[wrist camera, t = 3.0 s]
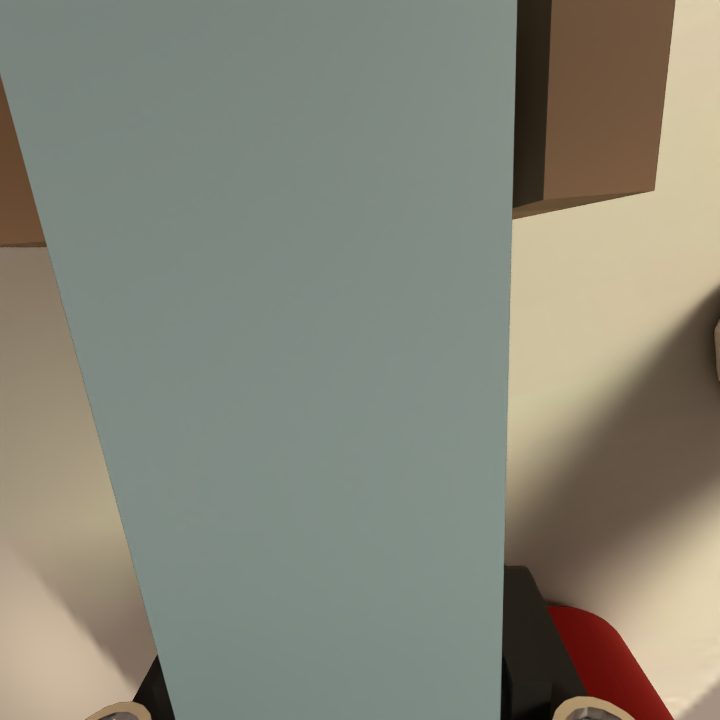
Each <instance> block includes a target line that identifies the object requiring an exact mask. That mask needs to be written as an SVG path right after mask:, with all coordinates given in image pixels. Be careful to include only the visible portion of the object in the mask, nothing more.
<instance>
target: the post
mask: <svg viewBox="0 0 720 720" xmlns="http://www.w3.org/2000/svg"><path fill="white" fill-rule="evenodd" d="M674 9H675V0H517V31H516V73H515V115H514V157H513V200H512V220H513V219H518V218H523V217H527V216H532V215H537V214H542V213H547V212H552V211H557V210H562V209H567V208H571V207H576V206H581V205H586V204H591V203H596V202H601V201H606V200H611V199H616V198H620V197H625V196H630V195H635V194H640V193H645V192H650V191H654V190H655V181H656V171H657V162H658V153H659V144H660V135H661V126H662V117H663V108H664V99H665V90H666V81H667V72H668V63H669V54H670V45H671V36H672V27H673V18H674ZM0 247H47V244H46V241H45V237H44V233H43V229H42V226H41V222H40V218H39V215H38V211H37V207H36V204H35V200H34V196H33V193H32V189H31V185H30V182H29V178H28V174H27V171H26V167H25V163H24V159H23V156H22V152H21V148H20V145H19V141H18V137H17V134H16V130H15V126H14V123H13V119H12V115H11V112H10V108H9V104H8V101H7V97H6V93H5V89H4V86H3V82H2V78H1V75H0Z"/></svg>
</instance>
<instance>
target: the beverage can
mask: <svg viewBox="0 0 720 720" xmlns="http://www.w3.org/2000/svg"><path fill="white" fill-rule="evenodd" d="M547 609H548V611H549V613H550V615H551V617H552V619H553V622H554V624H555V626H556V628H557V630H558V632H559V634H560V636H561V639H562V641H563V643H564V645H565V647H566V649H567V651H568V653H569V656H570V658H571V660H572V662H573V664H574V666H575V668H576V670H577V673H578V675H579V677H580V679H581V681H582V683H583V685H584V687H585V690H586V692H587V694H588V696H589V697H594V698H598V699H601V700H604V701H607V702H610V703H612V704H613V705H615V706H617V707H618V708H620V709H622V710H624V711H625V712H627V713H628V714H629V715H630V716H632V717H633V718H634V719H635V720H674V719H673V717H672V716H671V714H670V713H669V711H668V709H667V708H666V706H665V705H664V703H663V701H662V700H661V698H660V697H659V695H658V694H657V692H656V690H655V689H654V687H653V686H652V684H651V683H650V681H649V680H648V678H647V676H646V675H645V673H644V672H643V670H642V669H641V667H640V666H639V664H638V662H637V661H636V659H635V658H634V656H633V655H632V653H631V652H630V650H629V648H628V647H627V645H626V644H625V642H624V641H623V639H622V638H621V636H620V635H619V633H618V632H617V631H616V630H615V629H614V628H613V627H612V626H611V625H610V624H609V623H608V622H606V621H605V620H604V619H602V618H600V617H599V616H597V615H595V614H592V613H590V612H587V611H584V610H581V609H577V608H572V607H563V606H550V607H547Z"/></svg>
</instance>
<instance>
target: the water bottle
mask: <svg viewBox="0 0 720 720" xmlns="http://www.w3.org/2000/svg"><path fill="white" fill-rule="evenodd" d="M714 334H715V350H716V366H717V374H718V379H719V382H720V319H719V321H718V323H717V325H716V327H715V329H714Z"/></svg>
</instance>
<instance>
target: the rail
mask: <svg viewBox="0 0 720 720" xmlns="http://www.w3.org/2000/svg"><path fill="white" fill-rule="evenodd" d="M516 31H517V0H0V75H1V78H2V82H3V86H4V89H5V93H6V97H7V101H8V104H9V108H10V112H11V115H12V119H13V123H14V126H15V130H16V134H17V137H18V141H19V145H20V148H21V152H22V156H23V159H24V163H25V167H26V171H27V174H28V178H29V182H30V185H31V189H32V193H33V196H34V200H35V204H36V207H37V211H38V215H39V218H40V222H41V226H42V229H43V233H44V237H45V241H46V244H47V248H48V252H49V255H50V259H51V263H52V266H53V270H54V274H55V277H56V281H57V285H58V288H59V292H60V296H61V300H62V303H63V307H64V311H65V314H66V318H67V322H68V325H69V329H70V333H71V336H72V340H73V344H74V347H75V351H76V355H77V358H78V362H79V366H80V370H81V373H82V377H83V381H84V384H85V388H86V392H87V395H88V399H89V403H90V406H91V410H92V414H93V417H94V421H95V425H96V428H97V432H98V436H99V440H100V443H101V447H102V451H103V454H104V458H105V462H106V465H107V469H108V473H109V476H110V480H111V484H112V487H113V491H114V495H115V498H116V502H117V506H118V510H119V513H120V517H121V521H122V524H123V528H124V532H125V535H126V539H127V543H128V546H129V550H130V554H131V557H132V561H133V565H134V569H135V572H136V576H137V580H138V583H139V587H140V591H141V594H142V598H143V602H144V605H145V609H146V613H147V616H148V620H149V624H150V627H151V631H152V635H153V639H154V642H155V646H156V650H157V653H158V657H159V661H160V664H161V668H162V672H163V675H164V679H165V683H166V686H167V690H168V694H169V697H170V701H171V705H172V709H173V712H174V716H175V720H500V707H501V664H502V622H503V580H504V538H505V495H506V453H507V411H508V369H509V326H510V284H511V242H512V200H513V157H514V115H515V73H516Z"/></svg>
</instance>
